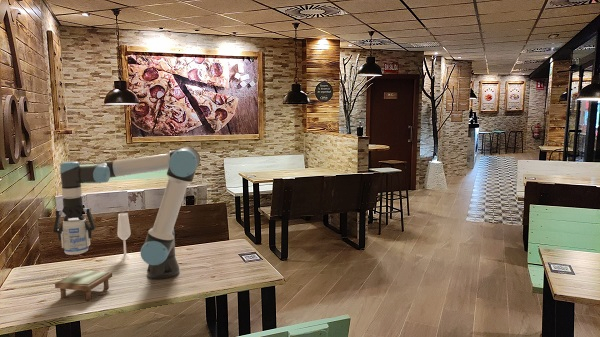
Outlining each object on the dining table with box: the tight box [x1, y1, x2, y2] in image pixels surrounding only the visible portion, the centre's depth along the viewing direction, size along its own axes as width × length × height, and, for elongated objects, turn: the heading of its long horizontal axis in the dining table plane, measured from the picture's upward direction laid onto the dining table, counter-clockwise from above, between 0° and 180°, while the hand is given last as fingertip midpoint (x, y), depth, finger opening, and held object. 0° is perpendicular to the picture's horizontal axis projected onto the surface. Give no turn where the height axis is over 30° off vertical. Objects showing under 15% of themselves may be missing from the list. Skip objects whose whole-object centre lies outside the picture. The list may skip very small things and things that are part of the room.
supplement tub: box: [62, 217, 89, 256], centre depth 193 cm, size 10×10×15 cm
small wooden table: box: [54, 269, 113, 302], centre depth 190 cm, size 16×16×7 cm
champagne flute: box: [117, 212, 133, 260], centre depth 235 cm, size 7×7×24 cm
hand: (76, 246), depth 194 cm, fingers closed on supplement tub, 9 cm apart
